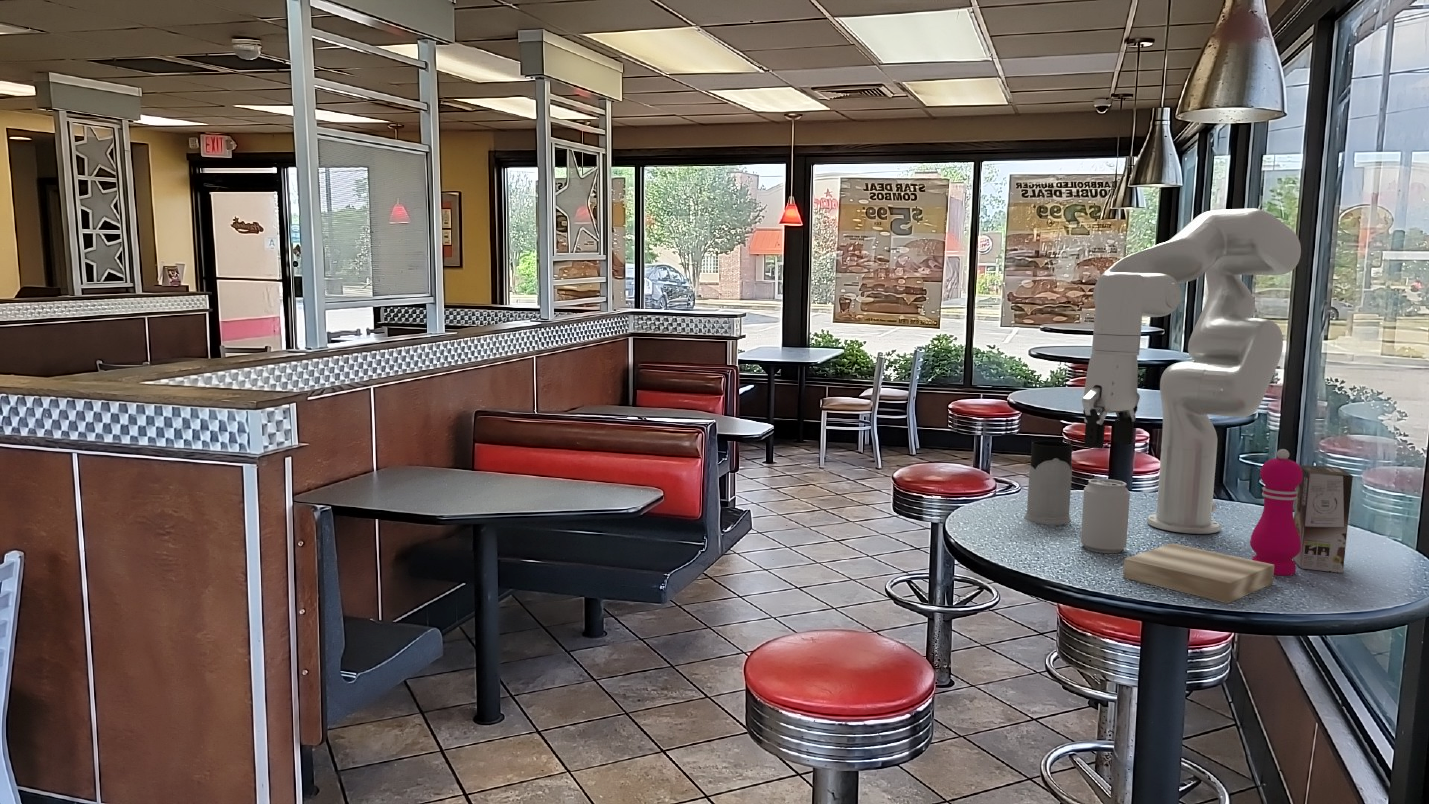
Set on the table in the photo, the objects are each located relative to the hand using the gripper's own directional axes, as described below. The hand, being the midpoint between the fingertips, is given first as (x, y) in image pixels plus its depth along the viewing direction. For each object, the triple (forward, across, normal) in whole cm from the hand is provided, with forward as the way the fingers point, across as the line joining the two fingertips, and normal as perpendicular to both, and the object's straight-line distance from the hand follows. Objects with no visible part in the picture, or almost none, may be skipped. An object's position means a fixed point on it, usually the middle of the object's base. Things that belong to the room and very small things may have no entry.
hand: (1108, 445), depth 173 cm
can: (+18, -1, 0) cm, 19 cm away
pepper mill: (+18, -11, +24) cm, 32 cm away
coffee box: (+18, -21, +27) cm, 39 cm away
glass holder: (+18, -15, -20) cm, 31 cm away
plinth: (+18, +5, +19) cm, 27 cm away
